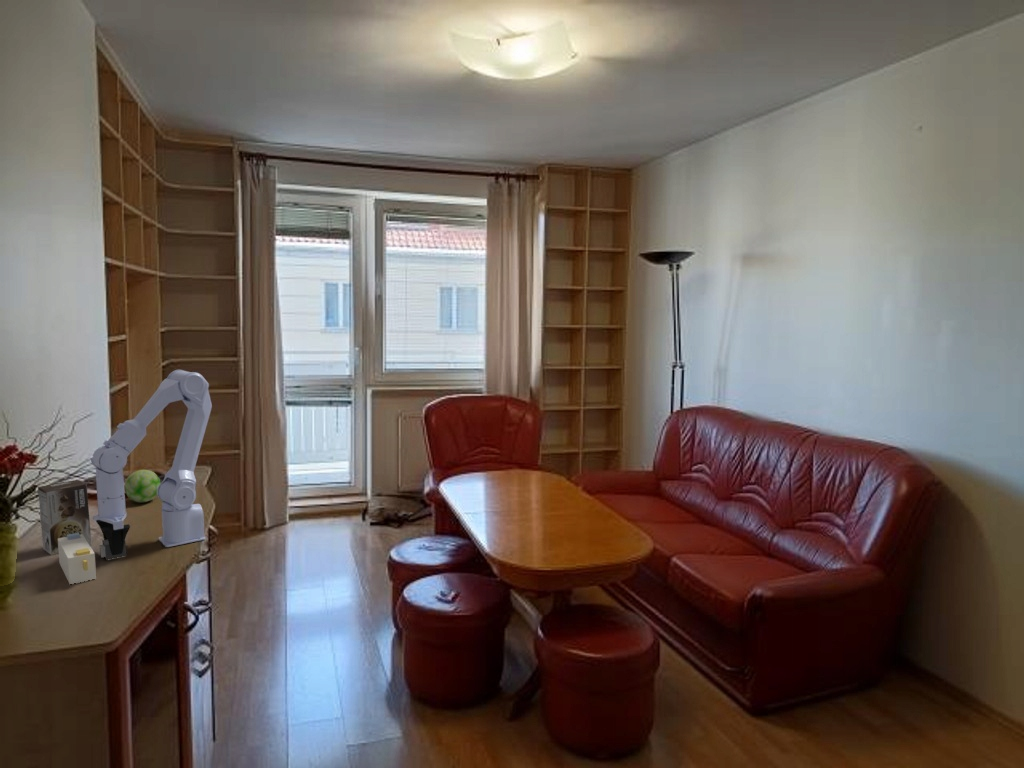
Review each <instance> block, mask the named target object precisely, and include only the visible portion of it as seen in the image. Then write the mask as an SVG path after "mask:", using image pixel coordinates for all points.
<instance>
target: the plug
mask: <svg viewBox="0 0 1024 768" xmlns="http://www.w3.org/2000/svg"><path fill="white" fill-rule="evenodd" d="M101 541H102V544H100V545H99V555H100V557H101V558H104V557H105V558H106V559H105V558H104V559H105V561H106V560H108V559H112V558H117V557H122V556H126V557H127V549H126V548H127V545H126V541H125V542H124V548H123V552H122V554H118V555H112V553H111V551H110V547H109V542H108V539H107V540H104V539H103V540H101ZM122 558H123V557H122ZM117 559H118V558H117ZM108 561H109V560H108Z"/></svg>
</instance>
